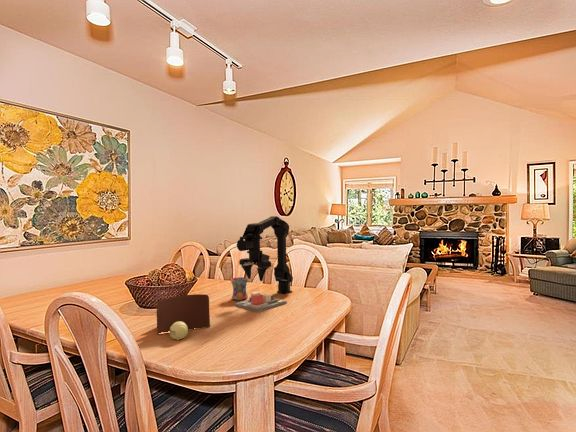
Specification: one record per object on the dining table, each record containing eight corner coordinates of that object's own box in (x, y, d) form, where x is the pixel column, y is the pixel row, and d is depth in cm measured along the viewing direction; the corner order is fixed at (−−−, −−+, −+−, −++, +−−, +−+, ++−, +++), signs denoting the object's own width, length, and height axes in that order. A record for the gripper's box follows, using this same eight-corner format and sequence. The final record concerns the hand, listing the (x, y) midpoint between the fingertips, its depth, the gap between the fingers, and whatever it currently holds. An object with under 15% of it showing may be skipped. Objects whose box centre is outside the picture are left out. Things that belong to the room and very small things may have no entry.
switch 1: (255, 298, 173) (255, 291, 173) (260, 299, 171) (259, 292, 171) (251, 299, 171) (250, 292, 171) (255, 301, 169) (255, 293, 169)
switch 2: (265, 301, 168) (265, 294, 168) (270, 302, 165) (270, 295, 165) (261, 302, 166) (261, 295, 166) (266, 303, 163) (265, 296, 163)
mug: (244, 301, 173) (243, 281, 173) (227, 300, 176) (227, 280, 176) (253, 295, 185) (252, 276, 185) (237, 295, 188) (237, 276, 187)
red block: (257, 303, 164) (257, 293, 164) (263, 305, 161) (263, 294, 161) (251, 305, 161) (251, 295, 161) (256, 307, 159) (256, 296, 159)
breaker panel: (264, 297, 180) (264, 292, 180) (286, 303, 168) (286, 297, 168) (235, 305, 166) (235, 299, 166) (257, 312, 155) (257, 306, 155)
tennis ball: (167, 320, 125) (175, 324, 120) (183, 318, 130) (192, 322, 125) (165, 338, 124) (173, 342, 119) (182, 335, 129) (190, 340, 124)
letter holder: (210, 327, 136) (209, 292, 136) (157, 335, 128) (156, 299, 128) (206, 320, 145) (205, 287, 145) (156, 327, 138) (155, 293, 137)
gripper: (279, 248, 167) (279, 279, 167) (255, 246, 180) (255, 275, 181) (261, 250, 159) (262, 283, 160) (238, 248, 173) (239, 278, 173)
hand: (255, 280), depth 168 cm, fingers open, 9 cm apart
